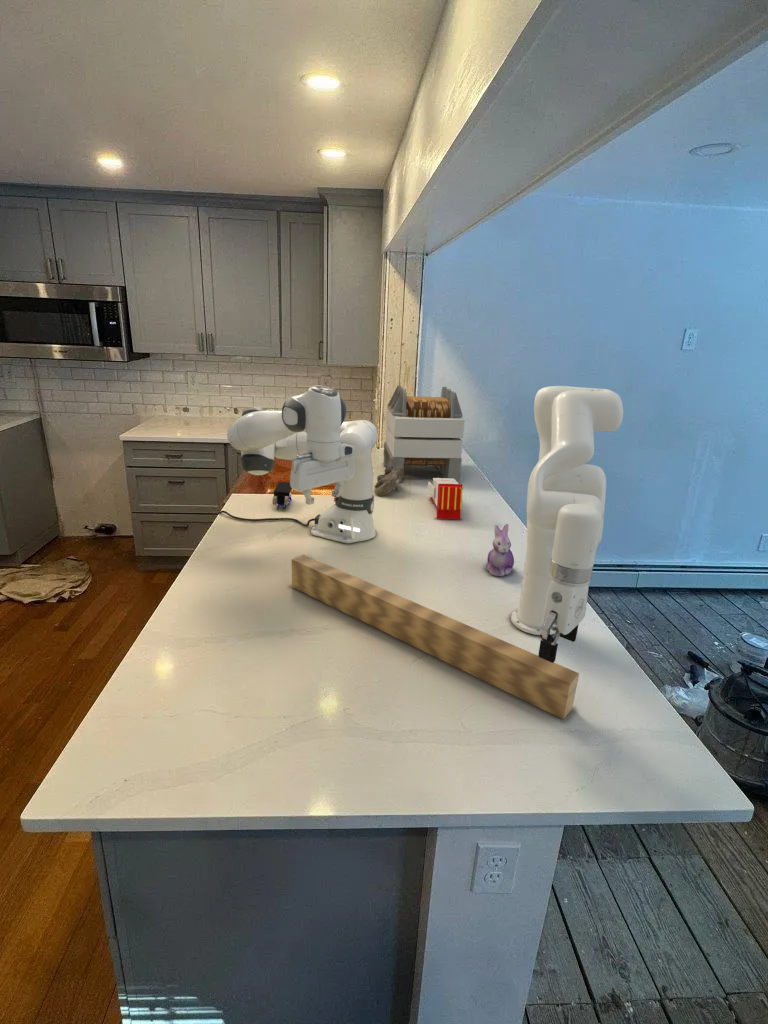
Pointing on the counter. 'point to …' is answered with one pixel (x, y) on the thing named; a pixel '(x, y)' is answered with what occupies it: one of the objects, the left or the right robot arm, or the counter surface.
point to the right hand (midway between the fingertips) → (557, 648)
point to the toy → (446, 497)
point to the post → (441, 636)
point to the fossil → (388, 480)
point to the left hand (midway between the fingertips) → (323, 500)
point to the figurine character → (282, 494)
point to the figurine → (500, 553)
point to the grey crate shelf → (424, 432)
